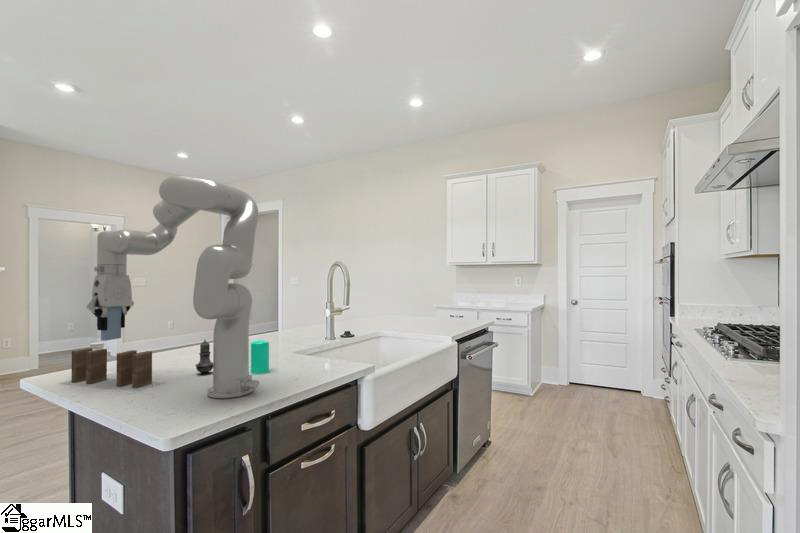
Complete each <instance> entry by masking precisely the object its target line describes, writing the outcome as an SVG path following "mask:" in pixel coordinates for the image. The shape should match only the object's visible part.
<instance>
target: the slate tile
mask: <svg viewBox="0 0 800 533" xmlns="http://www.w3.org/2000/svg"><path fill="white" fill-rule="evenodd" d="M101 312H102V309H101ZM105 317H107V330H100V341H101V342H103V341H104V342H105V341H112V340H118V339H122V328H121V307H110V308H108V309H107V313H106V316H105Z"/></svg>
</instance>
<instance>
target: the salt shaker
mask: <svg viewBox="0 0 800 533" xmlns="http://www.w3.org/2000/svg"><path fill="white" fill-rule="evenodd" d="M199 347H200V350H199V351H200V352H199V353H198V355H199V361H198V363H196V364H195V368H196V371H197V372H199V373H197V376H201V377H202V376H210V375H213V362H212V361H211V357H210V354H211V352H210V347H211V346H210V343H209V342H208V341H207V340H206V339H204V340H203V342H202V343H200V346H199ZM211 371H212V372H211Z"/></svg>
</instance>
